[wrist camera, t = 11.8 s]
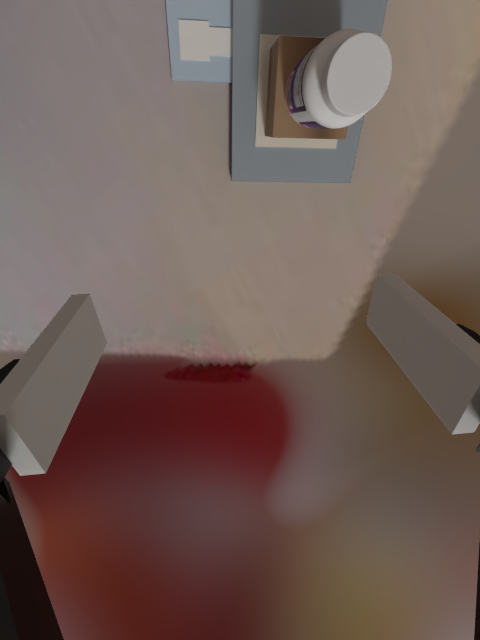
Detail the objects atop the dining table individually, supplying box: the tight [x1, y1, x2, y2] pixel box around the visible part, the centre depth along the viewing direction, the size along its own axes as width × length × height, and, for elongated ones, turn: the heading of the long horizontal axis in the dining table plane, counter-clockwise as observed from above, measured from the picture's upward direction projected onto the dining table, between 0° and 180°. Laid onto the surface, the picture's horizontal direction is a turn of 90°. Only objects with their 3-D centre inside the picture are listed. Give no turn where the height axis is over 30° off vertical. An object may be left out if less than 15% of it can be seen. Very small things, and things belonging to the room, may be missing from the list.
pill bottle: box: [285, 29, 392, 129], centre depth 22 cm, size 5×5×10 cm
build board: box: [231, 0, 388, 183], centre depth 31 cm, size 14×16×1 cm
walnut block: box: [265, 36, 348, 139], centre depth 28 cm, size 7×7×5 cm
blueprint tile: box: [166, 0, 233, 83], centre depth 29 cm, size 8×6×1 cm
